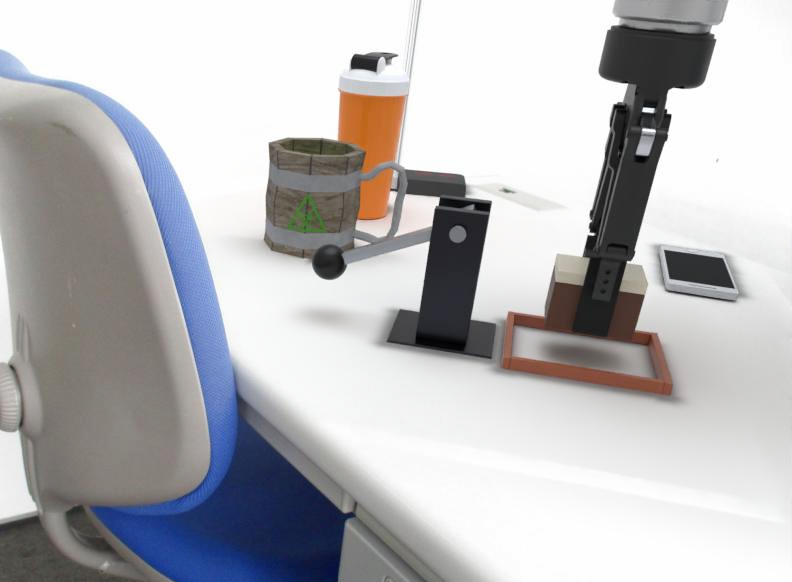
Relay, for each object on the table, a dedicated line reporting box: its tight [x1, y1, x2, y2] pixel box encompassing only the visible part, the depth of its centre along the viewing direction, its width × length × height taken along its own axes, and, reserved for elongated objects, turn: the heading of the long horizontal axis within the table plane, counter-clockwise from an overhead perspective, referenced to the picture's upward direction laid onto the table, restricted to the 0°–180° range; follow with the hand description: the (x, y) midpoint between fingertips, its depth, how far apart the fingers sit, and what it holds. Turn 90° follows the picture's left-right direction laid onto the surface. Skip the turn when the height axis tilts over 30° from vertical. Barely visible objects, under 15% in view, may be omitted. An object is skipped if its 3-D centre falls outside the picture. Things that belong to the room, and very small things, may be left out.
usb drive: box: [391, 168, 467, 198], centre depth 130 cm, size 5×12×3 cm, turn 80°
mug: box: [263, 137, 408, 259], centre depth 98 cm, size 16×11×12 cm
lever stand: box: [386, 195, 497, 360], centre depth 76 cm, size 9×8×13 cm
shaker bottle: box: [337, 51, 411, 220], centre depth 113 cm, size 9×9×20 cm
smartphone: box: [658, 245, 739, 301], centre depth 100 cm, size 7×16×1 cm, turn 160°
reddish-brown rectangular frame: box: [500, 311, 674, 396], centre depth 76 cm, size 13×11×2 cm
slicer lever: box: [311, 204, 476, 281], centre depth 76 cm, size 15×3×3 cm, turn 72°
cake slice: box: [544, 253, 649, 341], centre depth 73 cm, size 7×5×5 cm
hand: (587, 320), depth 74 cm, fingers closed on cake slice, 5 cm apart
